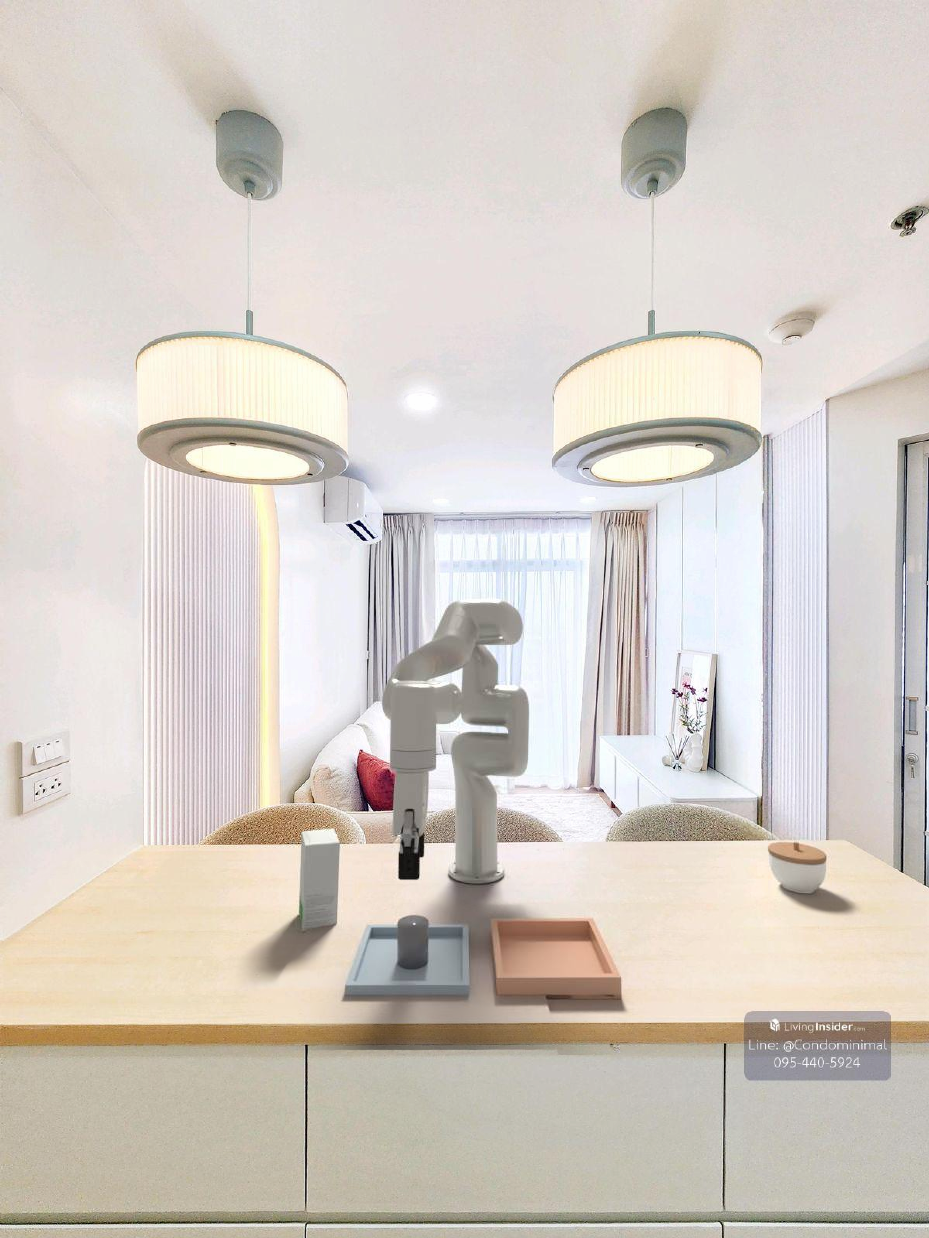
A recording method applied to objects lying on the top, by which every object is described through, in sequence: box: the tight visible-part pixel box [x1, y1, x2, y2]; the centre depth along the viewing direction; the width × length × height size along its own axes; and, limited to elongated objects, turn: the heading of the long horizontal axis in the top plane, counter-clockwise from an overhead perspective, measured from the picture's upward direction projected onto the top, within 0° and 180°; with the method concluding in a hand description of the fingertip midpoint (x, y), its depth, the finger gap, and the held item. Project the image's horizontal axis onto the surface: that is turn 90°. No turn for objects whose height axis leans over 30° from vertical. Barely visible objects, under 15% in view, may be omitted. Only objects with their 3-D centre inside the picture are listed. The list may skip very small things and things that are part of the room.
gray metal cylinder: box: [396, 914, 430, 970], centre depth 90 cm, size 5×5×6 cm
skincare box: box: [298, 827, 341, 933], centre depth 106 cm, size 8×7×16 cm
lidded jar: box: [767, 841, 827, 895], centre depth 119 cm, size 11×11×9 cm
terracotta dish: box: [490, 917, 623, 1000], centre depth 90 cm, size 18×18×3 cm
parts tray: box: [344, 923, 470, 997], centre depth 90 cm, size 18×18×2 cm
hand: (411, 867), depth 91 cm, fingers open, 9 cm apart
